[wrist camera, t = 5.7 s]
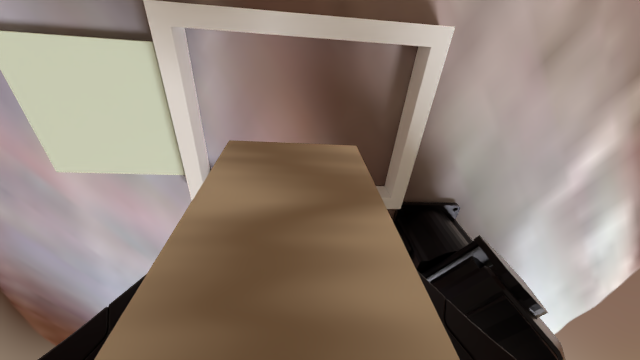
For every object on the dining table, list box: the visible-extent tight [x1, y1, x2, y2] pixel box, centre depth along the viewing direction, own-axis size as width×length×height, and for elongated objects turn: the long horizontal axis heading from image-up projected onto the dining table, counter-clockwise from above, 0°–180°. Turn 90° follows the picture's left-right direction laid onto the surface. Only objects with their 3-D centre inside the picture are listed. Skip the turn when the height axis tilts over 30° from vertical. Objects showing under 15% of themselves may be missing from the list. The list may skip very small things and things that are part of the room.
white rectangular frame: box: [143, 0, 455, 209], centre depth 19 cm, size 18×14×2 cm
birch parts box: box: [94, 141, 460, 360], centre depth 8 cm, size 5×5×8 cm
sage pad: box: [0, 30, 185, 175], centre depth 18 cm, size 10×10×1 cm
